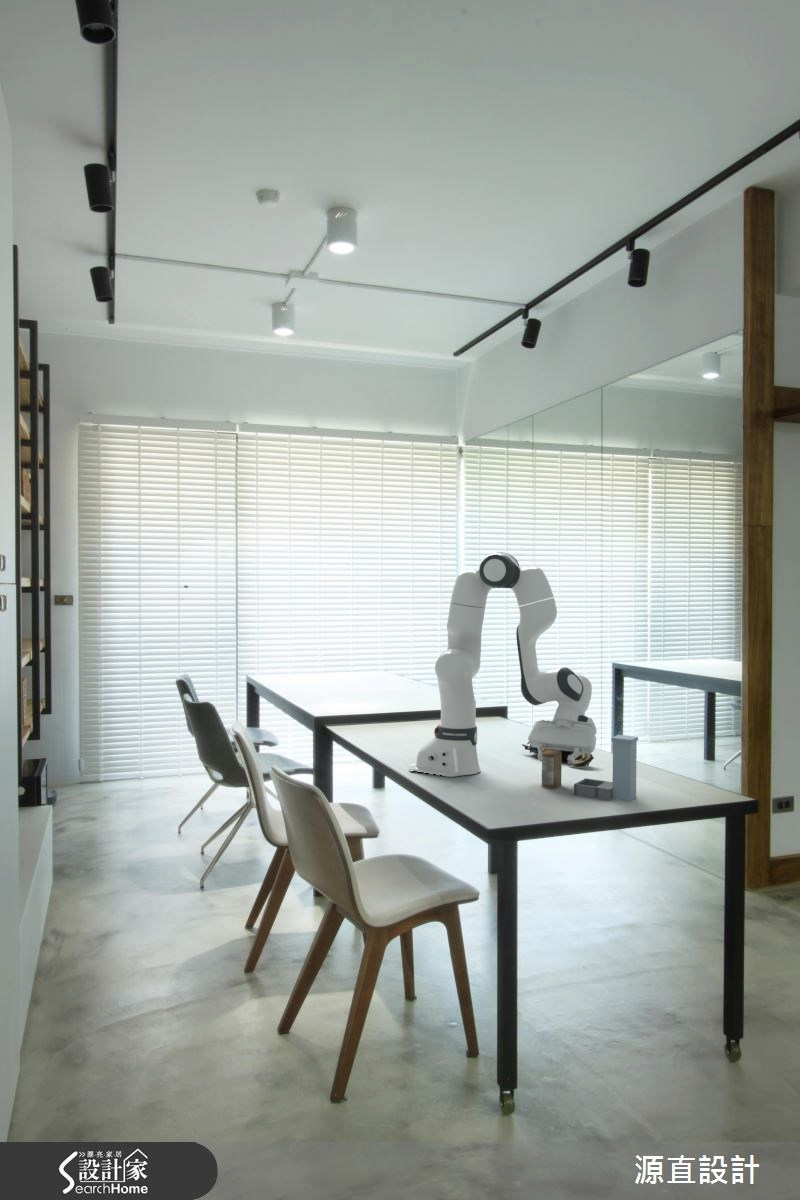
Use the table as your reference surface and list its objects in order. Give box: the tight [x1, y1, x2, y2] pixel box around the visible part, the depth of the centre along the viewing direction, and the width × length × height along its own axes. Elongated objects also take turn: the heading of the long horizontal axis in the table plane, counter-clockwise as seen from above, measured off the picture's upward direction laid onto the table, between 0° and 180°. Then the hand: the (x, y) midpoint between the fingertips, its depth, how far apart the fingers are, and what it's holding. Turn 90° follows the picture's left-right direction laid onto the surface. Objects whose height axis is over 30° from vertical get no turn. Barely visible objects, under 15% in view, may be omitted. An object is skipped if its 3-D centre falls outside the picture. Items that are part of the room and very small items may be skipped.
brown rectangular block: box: [541, 750, 563, 790], centre depth 247 cm, size 4×6×10 cm
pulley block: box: [521, 741, 595, 768], centre depth 284 cm, size 14×6×30 cm
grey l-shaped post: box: [573, 734, 639, 802], centre depth 237 cm, size 16×9×17 cm, turn 56°
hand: (554, 760), depth 249 cm, fingers open, 8 cm apart
